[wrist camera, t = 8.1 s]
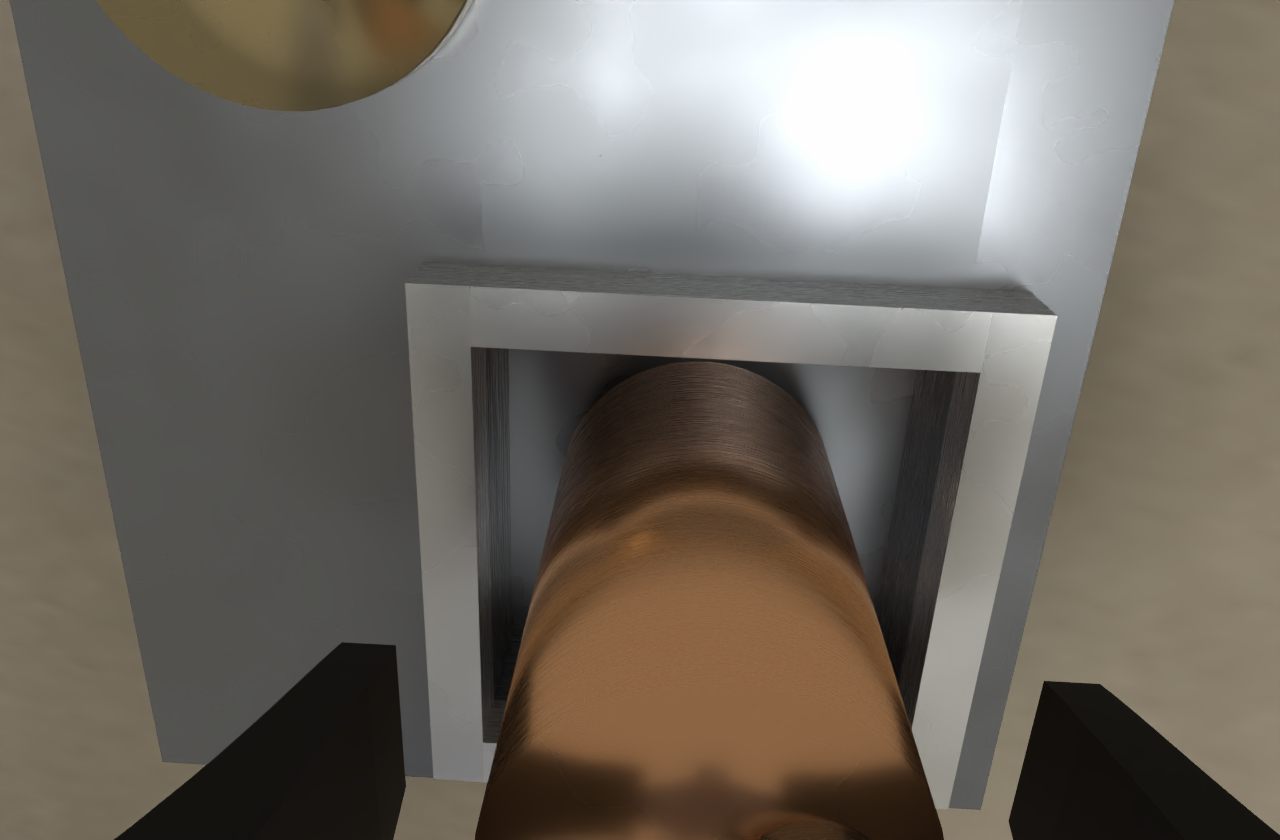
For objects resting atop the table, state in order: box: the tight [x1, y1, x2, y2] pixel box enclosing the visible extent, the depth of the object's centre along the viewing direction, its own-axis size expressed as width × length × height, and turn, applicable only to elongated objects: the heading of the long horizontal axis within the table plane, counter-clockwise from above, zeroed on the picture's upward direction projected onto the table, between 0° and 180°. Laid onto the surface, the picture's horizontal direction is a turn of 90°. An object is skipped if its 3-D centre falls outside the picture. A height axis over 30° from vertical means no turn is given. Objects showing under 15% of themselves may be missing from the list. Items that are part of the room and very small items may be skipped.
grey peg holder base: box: [10, 0, 1174, 810], centre depth 14 cm, size 14×18×4 cm
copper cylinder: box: [475, 361, 944, 840], centre depth 12 cm, size 4×4×10 cm
